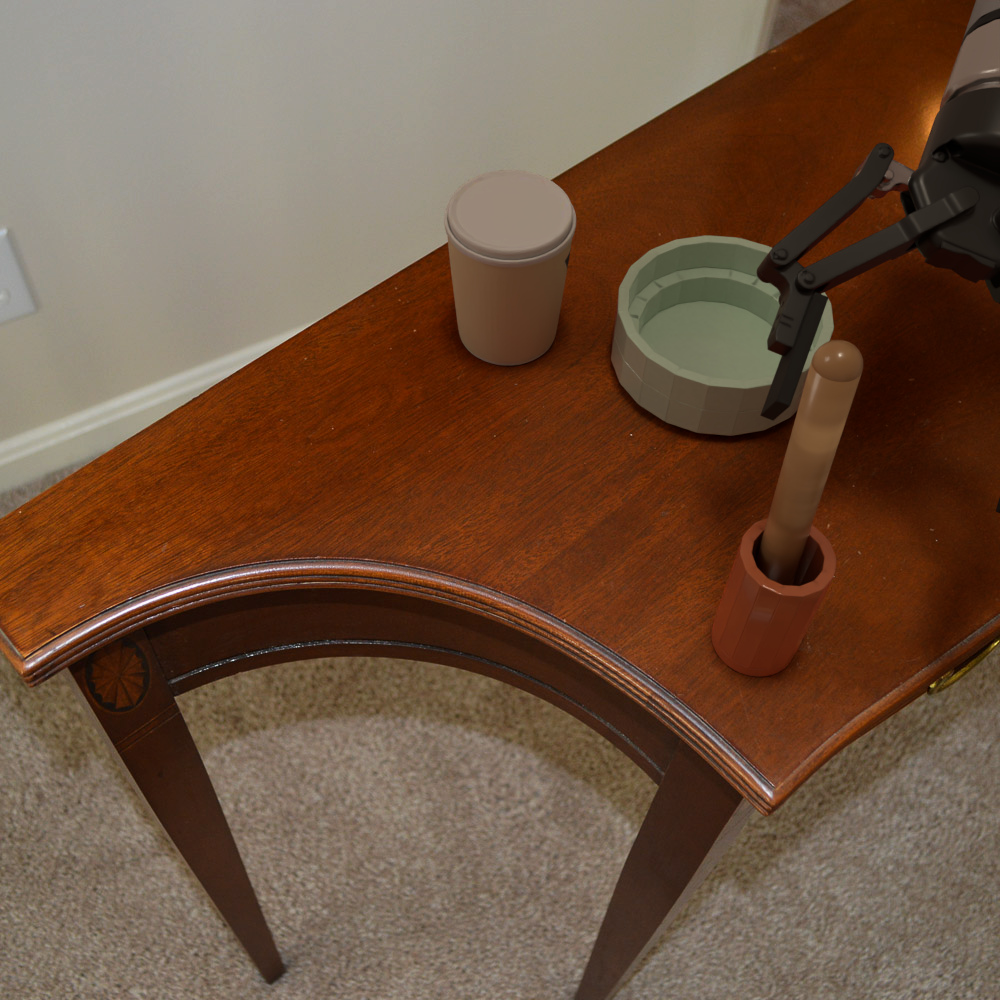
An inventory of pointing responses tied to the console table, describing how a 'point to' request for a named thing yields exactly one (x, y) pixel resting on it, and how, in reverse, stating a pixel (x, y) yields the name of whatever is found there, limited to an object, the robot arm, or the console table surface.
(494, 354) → the coffee cup
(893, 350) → the console table surface
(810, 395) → the stick
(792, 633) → the crock
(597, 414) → the console table surface
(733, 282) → the bowl
